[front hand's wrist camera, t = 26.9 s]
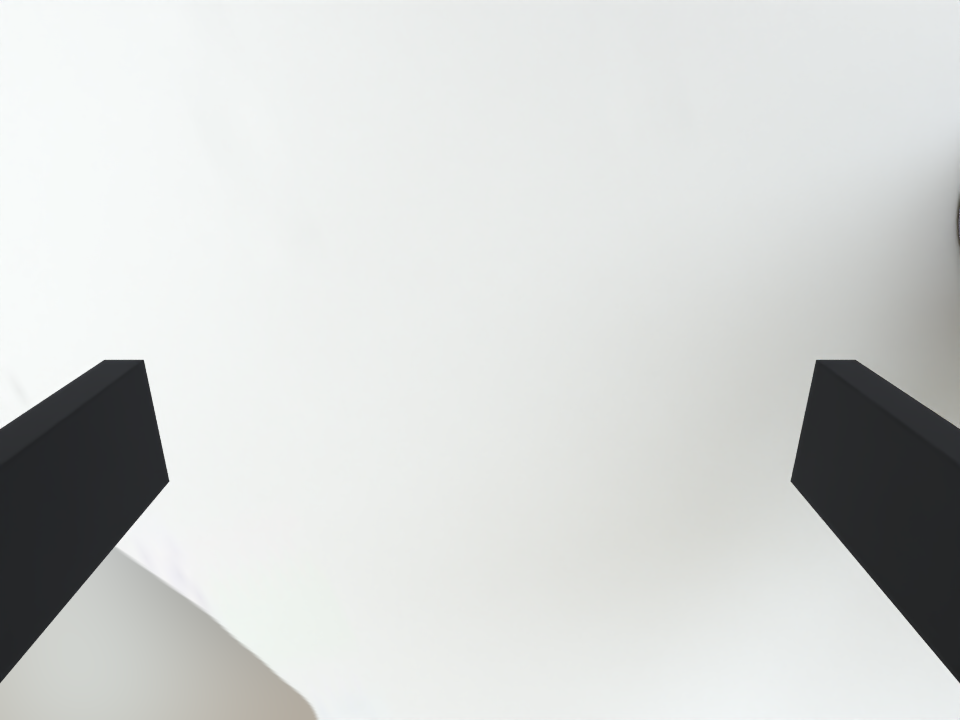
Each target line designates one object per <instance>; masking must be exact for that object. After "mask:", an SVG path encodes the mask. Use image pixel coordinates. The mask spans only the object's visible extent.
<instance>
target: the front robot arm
mask: <svg viewBox="0 0 960 720" xmlns="http://www.w3.org/2000/svg"><path fill="white" fill-rule="evenodd" d="M958 225H959V238H960V209H959V221H958ZM168 482H169V478H168V473H167V468H166V463H165V459H164V454H163V449H162V444H161V440H160V435H159V430H158V425H157V421H156V416H155V411H154V406H153V402H152V397H151V392H150V387H149V383H148V378H147V373H146V368H145V364H144V360H104V361H102V362H101V363H99V364H98V365H96V366H95V367H93V368H92V369H90V370H89V371H87V372H86V373H84V374H83V375H81V376H80V377H78V378H77V379H75V380H73V381H72V382H70V383H69V384H67V385H66V386H64V387H63V388H61V389H60V390H58V391H57V392H55V393H54V394H52V395H51V396H49V397H48V398H46V399H45V400H43V401H42V402H40V403H39V404H37V405H36V406H34V407H33V408H31V409H30V410H28V411H27V412H25V413H24V414H22V415H21V416H19V417H18V418H16V419H15V420H13V421H12V422H10V423H9V424H7V425H6V426H4V427H3V428H1V429H0V683H1V681H2V680H3V679H4V678H5V677H6V675H7V674H8V673H9V672H10V671H11V670H12V668H13V667H14V666H15V665H16V664H17V662H18V661H19V660H20V659H21V658H22V656H23V655H24V654H25V653H26V652H27V650H28V649H29V648H30V647H31V646H32V644H33V643H34V642H35V641H36V640H37V638H38V637H39V636H40V635H41V634H42V633H43V631H44V630H45V629H46V628H47V627H48V625H49V624H50V623H51V622H52V621H53V619H54V618H55V617H56V616H57V615H58V613H59V612H60V611H61V610H62V609H63V607H64V606H65V605H66V604H67V603H68V602H69V600H70V599H71V598H72V597H73V596H74V594H75V593H76V592H77V591H78V590H79V588H80V587H81V586H82V585H83V584H84V582H85V581H86V580H87V579H88V578H89V577H90V575H91V574H92V573H93V572H94V571H95V569H96V568H97V567H98V566H99V565H100V563H101V562H102V561H103V560H104V559H105V557H106V556H107V555H108V554H109V553H110V551H111V550H112V549H113V548H114V547H115V546H116V544H117V543H118V542H119V541H120V540H121V538H122V537H123V536H124V535H125V534H126V532H127V531H128V530H129V529H130V528H131V526H132V525H133V524H134V523H135V522H136V520H137V519H138V518H139V517H140V516H141V514H142V513H143V512H144V511H145V510H146V509H147V507H148V506H149V505H150V504H151V503H152V501H153V500H154V499H155V498H156V497H157V495H158V494H159V493H160V492H161V491H162V489H163V488H164V487H165V486H166V485H167V483H168ZM791 482H792V483H793V485H794V486H795V487H796V488H797V489H798V491H799V492H800V493H801V494H802V495H803V497H804V498H805V499H806V500H807V501H808V503H809V504H810V505H811V506H812V507H813V509H814V510H815V511H816V512H817V513H818V514H819V516H820V517H821V518H822V519H823V520H824V522H825V523H826V524H827V525H828V526H829V528H830V529H831V530H832V531H833V532H834V534H835V535H836V536H837V537H838V538H839V540H840V541H841V542H842V543H843V544H844V546H845V547H846V548H847V549H848V550H849V551H850V553H851V554H852V555H853V556H854V557H855V559H856V560H857V561H858V562H859V563H860V565H861V566H862V567H863V568H864V569H865V571H866V572H867V573H868V574H869V575H870V577H871V578H872V579H873V580H874V581H875V582H876V584H877V585H878V586H879V587H880V588H881V590H882V591H883V592H884V593H885V594H886V596H887V597H888V598H889V599H890V600H891V602H892V603H893V604H894V605H895V606H896V608H897V609H898V610H899V611H900V612H901V614H902V615H903V616H904V617H905V618H906V619H907V621H908V622H909V623H910V624H911V625H912V627H913V628H914V629H915V630H916V631H917V633H918V634H919V635H920V636H921V637H922V639H923V640H924V641H925V642H926V643H927V645H928V646H929V647H930V648H931V649H932V650H933V652H934V653H935V654H936V655H937V656H938V658H939V659H940V660H941V661H942V662H943V664H944V665H945V666H946V667H947V668H948V670H949V671H950V672H951V673H952V674H953V676H954V677H955V678H956V679H957V680H958V681H959V683H960V429H959V428H957V427H956V426H954V425H953V424H951V423H950V422H948V421H947V420H945V419H944V418H942V417H941V416H939V415H938V414H936V413H935V412H933V411H932V410H930V409H929V408H927V407H926V406H924V405H923V404H921V403H920V402H918V401H917V400H915V399H914V398H912V397H911V396H909V395H908V394H906V393H905V392H903V391H902V390H900V389H899V388H897V387H896V386H894V385H893V384H891V383H890V382H888V381H887V380H885V379H883V378H882V377H880V376H879V375H877V374H876V373H874V372H873V371H871V370H870V369H868V368H867V367H865V366H864V365H862V364H861V363H859V362H858V361H856V360H816V364H815V368H814V373H813V378H812V383H811V387H810V392H809V397H808V402H807V406H806V411H805V416H804V421H803V425H802V430H801V435H800V440H799V444H798V449H797V454H796V459H795V463H794V468H793V473H792V478H791Z"/></svg>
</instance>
